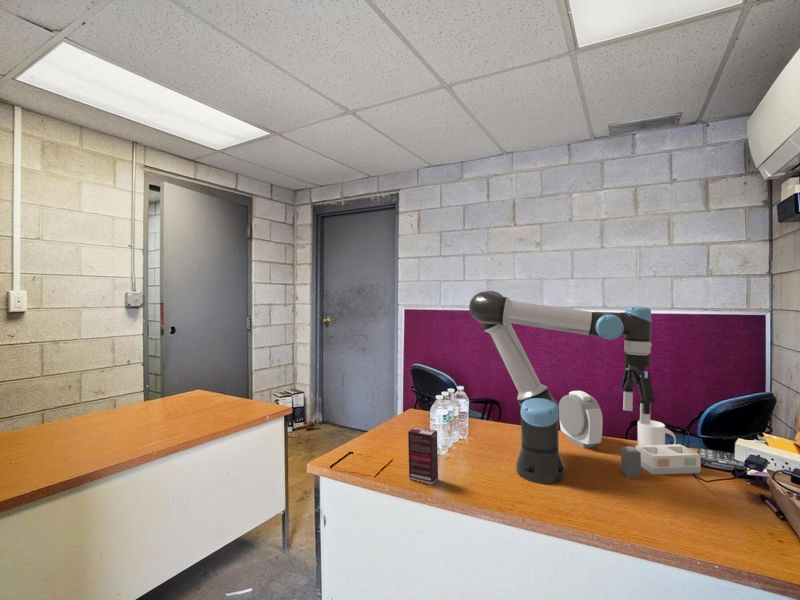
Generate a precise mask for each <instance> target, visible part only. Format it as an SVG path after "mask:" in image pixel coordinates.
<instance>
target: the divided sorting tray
mask: <svg viewBox="0 0 800 600" xmlns="http://www.w3.org/2000/svg"><path fill="white" fill-rule="evenodd" d="M634 448H635V449H636V450H637V451H639V452H641V468H642V469H644V470H646V471H648V472H649V473H650V474H651V475H675V474H676V475H677V474H678V475H680V474H683V475H684V474H701V471H702V470H701V466H702V465H701V462H702V461H701V460H702V458H701V454H700V453H698V452H695V451H694V450H692V449H691V448H689V447H686V446H684V445H682V444H677V443H676V444H674V443H673V444H665V445H638V444H637V445H635V447H634Z"/></svg>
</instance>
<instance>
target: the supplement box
mask: <svg viewBox="0 0 800 600" xmlns="http://www.w3.org/2000/svg"><path fill="white" fill-rule="evenodd" d="M407 433H408V434H407V437H408V440H407V441H408V442H407V443H408V477H409V478H411V479H415V480H419V481H423V482H427V483H430V484H429V485H431V484H433V483H434V482H435V481H436V480H437V479H438V480H439V463H438V462H439V459H438V458H439V457H438V456H439V454H438V453H439V451H438V430H434V429H427V428H421V427H415V426H414V427H412V428H411V429H409V430H408V431H407ZM438 480H437V481H438ZM437 481H436V482H437ZM423 482H422V483H423ZM436 482H435V483H436ZM427 483H426V484H427ZM435 483H434V484H435ZM434 484H433V485H434Z"/></svg>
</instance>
